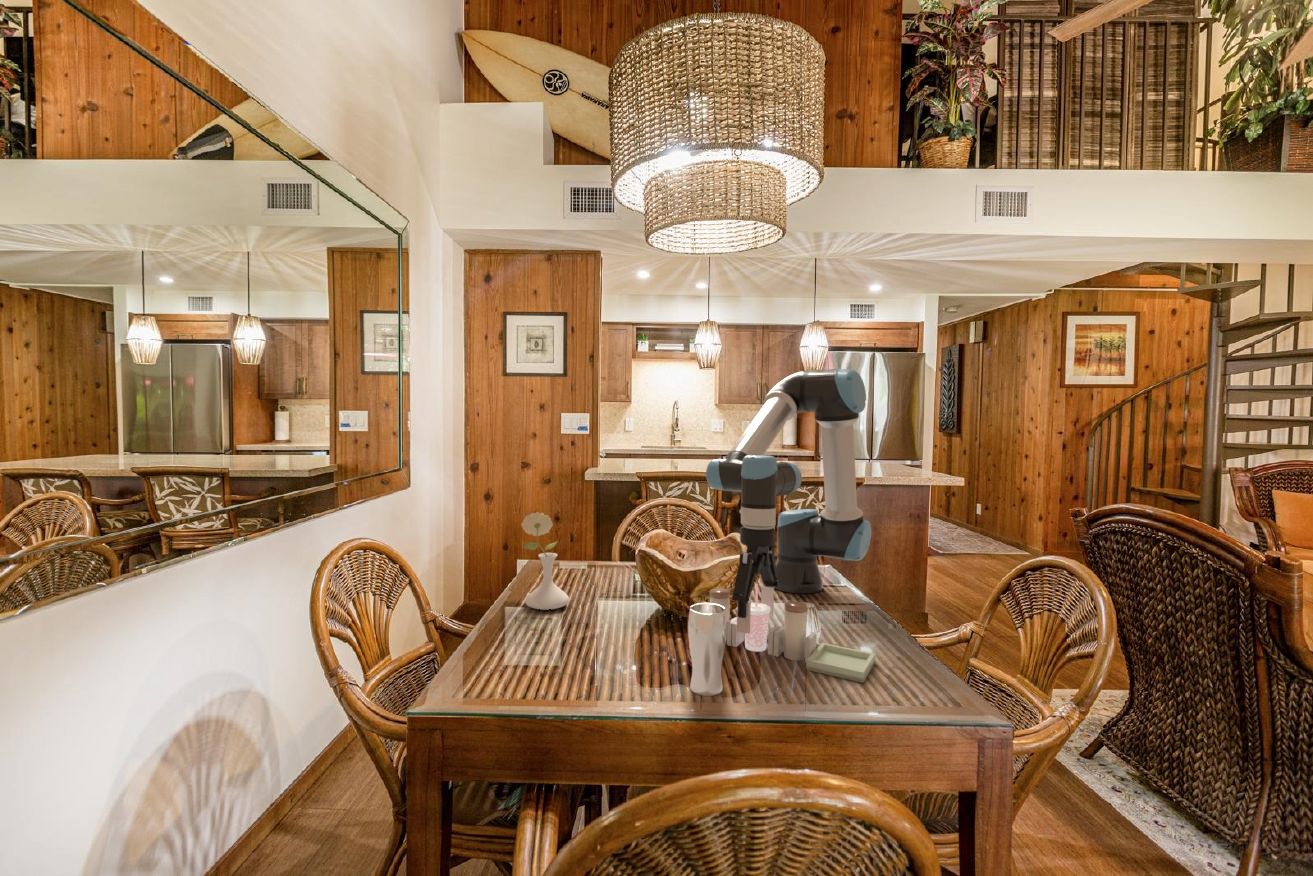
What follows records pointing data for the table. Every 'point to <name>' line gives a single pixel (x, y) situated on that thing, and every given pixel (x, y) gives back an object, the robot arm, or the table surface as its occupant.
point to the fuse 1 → (721, 601)
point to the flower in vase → (547, 591)
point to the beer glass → (707, 647)
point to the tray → (841, 662)
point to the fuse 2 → (795, 630)
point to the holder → (770, 639)
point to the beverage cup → (758, 626)
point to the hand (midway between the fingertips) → (755, 623)
